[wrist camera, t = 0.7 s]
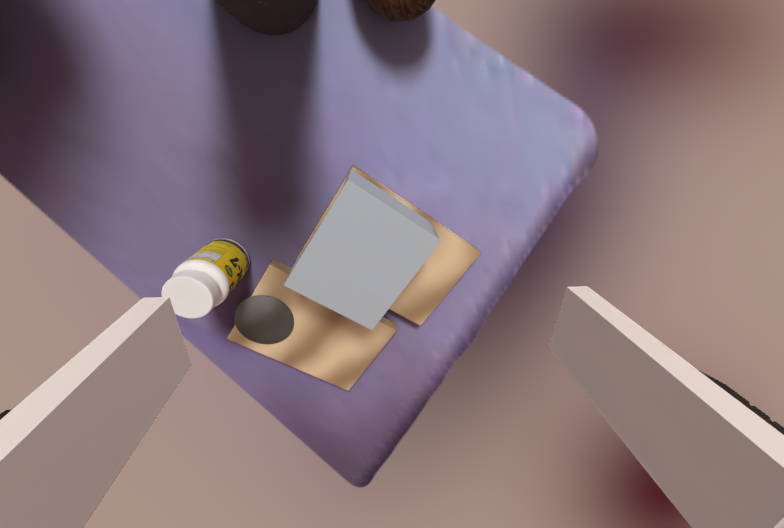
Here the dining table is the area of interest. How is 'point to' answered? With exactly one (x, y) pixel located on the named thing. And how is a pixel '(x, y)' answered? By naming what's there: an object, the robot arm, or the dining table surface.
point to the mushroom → (401, 8)
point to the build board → (306, 331)
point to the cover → (363, 253)
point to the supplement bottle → (206, 278)
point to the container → (270, 14)
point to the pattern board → (425, 264)
